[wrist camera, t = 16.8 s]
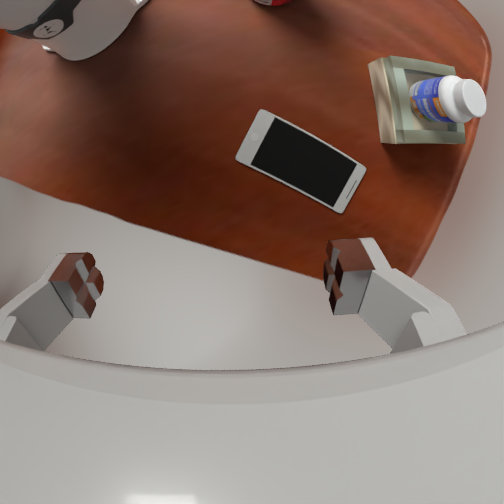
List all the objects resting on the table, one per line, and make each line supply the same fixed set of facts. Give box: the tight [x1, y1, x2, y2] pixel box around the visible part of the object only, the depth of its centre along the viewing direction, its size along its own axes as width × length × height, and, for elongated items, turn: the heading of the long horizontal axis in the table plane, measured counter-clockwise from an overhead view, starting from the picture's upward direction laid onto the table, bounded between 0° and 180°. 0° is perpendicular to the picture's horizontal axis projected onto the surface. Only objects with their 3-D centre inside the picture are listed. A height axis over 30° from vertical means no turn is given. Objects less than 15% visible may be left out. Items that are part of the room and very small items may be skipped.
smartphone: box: [235, 109, 366, 213], centre depth 32 cm, size 7×16×1 cm, turn 64°
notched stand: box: [368, 56, 466, 144], centre depth 26 cm, size 11×11×6 cm
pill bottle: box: [409, 75, 486, 123], centre depth 20 cm, size 5×5×10 cm
